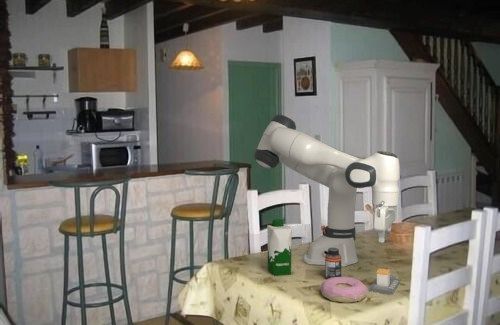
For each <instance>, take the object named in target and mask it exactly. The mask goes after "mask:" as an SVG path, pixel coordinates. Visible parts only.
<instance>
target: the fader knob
mask: <svg viewBox="0 0 500 325" xmlns="http://www.w3.org/2000/svg"><path fill="white" fill-rule="evenodd" d="M390 275H391V269H387V268H386V269H385V268H378V269H377V271H376V278H377V285H381V286H389V284H390Z"/></svg>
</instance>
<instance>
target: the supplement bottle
mask: <svg viewBox="0 0 500 325" xmlns="http://www.w3.org/2000/svg"><path fill="white" fill-rule="evenodd" d="M324 269H325V270H324V273H325V274H324V275H325V280H327V279H330V278H334V277H342V267H341V255H340V254H339V249H338V248H328V253H327V254H326V255H325V265H324Z"/></svg>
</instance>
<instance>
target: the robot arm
mask: <svg viewBox="0 0 500 325" xmlns="http://www.w3.org/2000/svg"><path fill="white" fill-rule="evenodd" d="M253 158H254V160H255V161H256V162H257V163H258V165H260V166H262V167H263V168H266V169H274V168H276V167H277V166H278V165H279V164H280V163H281V164H283V165H284V166H286V167H288V168H289V169H291V170H292V171H294V172H296V173H297V174H299V175H302V176H304V177H305V178H307V179H308V180H312V181H313V182H315V183H318V184H320V185H322V186H324V187H326V188H328V203H327V225H321V227H320V230H321V231H322V233H321V234H322V235H321V236H319V237H318V238H316V239H315V240H314V241H312V242H311V244H310V246H309V249H308V252H307V253H305V254H304V255H303V262H304V263H306V264H308V265H317V266H325V255H326V254H327V253H328V248H338V249H339V254H340V255H341V268H342V267H343V268H344V267H347V266H350V265H354V264H356V263H358V262H359V258H358V255H357V250H356V236H357V229H356V227H355V220H356V218H355V212H356V211H355V210H356V202H357V190H358V189H364V188H372V198H371V199H372V200H371V201H372V204H373V205H374V206H375V209H374V217H373V230H374V231H376V232H377V234H378V242H379V243H385V241H386V237H390V236H391V231H392V226H393V225H392V224H393V223H394V222H395V221H396V219H397V212H398V206H399V205H400V187H399V182H400V179H401V178H400V177H401V169H400V168H401V167H400V160H399V157H398V156H397V154H395V153H393V152H390V151H389V152H388V151H381V150H380V151H379V150H378V151H376V152H375V153H373V154H372V155H370V156H367V157H359V156H355V155H352V154H350V153H347V152H345V151H342V150H340V149H336V148H334V147H333V146H330V145H328V144H326V143H324V142H322V141H321V140H318V139H317V138H315V137H313V136H311V135H309V134H307V133H304V132H302V131H300V130H297V125H296V122H295V121H294V120H293V119H292V118H291V117H290V116H288V115H285V114H284V115H283V114H276V115H274V116H273V117H272V118H271V120H270V122H269V124H268V126H267V127H266V128H265V130H264V132H263V133H262V136H261V139H260V140H259V142H258V145H257V148H256V149H255V151H254V155H253Z"/></svg>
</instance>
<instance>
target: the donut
mask: <svg viewBox="0 0 500 325" xmlns="http://www.w3.org/2000/svg"><path fill="white" fill-rule="evenodd" d="M319 292H321V294H322V296H323V297H324V298H327V299H328V300H329V301H331V302H335V303H344V304H345V303H346V304H348V303H356V302H357V301H358V302H360V301H362V300H363V299H365V297H367V294H368V291H367V286H366V285H365V284H364V283H363V282H362V281H361V280H360V279H356V278H353V277H347V276H341V277H334V278H330V279H324V280H323V282H322V283H321V285H320V291H319ZM358 302H357V303H358Z"/></svg>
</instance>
